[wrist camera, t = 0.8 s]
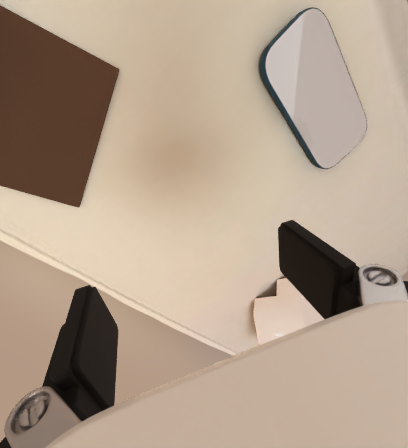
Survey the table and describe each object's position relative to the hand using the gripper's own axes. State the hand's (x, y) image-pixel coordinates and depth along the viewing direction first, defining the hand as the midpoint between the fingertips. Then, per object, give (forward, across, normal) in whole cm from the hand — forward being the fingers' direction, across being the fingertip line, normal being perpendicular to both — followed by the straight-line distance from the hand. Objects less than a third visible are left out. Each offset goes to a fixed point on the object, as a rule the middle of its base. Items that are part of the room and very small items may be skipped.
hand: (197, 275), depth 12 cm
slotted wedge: (+28, -19, +42) cm, 54 cm away
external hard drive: (+29, -29, -3) cm, 41 cm away
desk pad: (+29, +12, -8) cm, 32 cm away
